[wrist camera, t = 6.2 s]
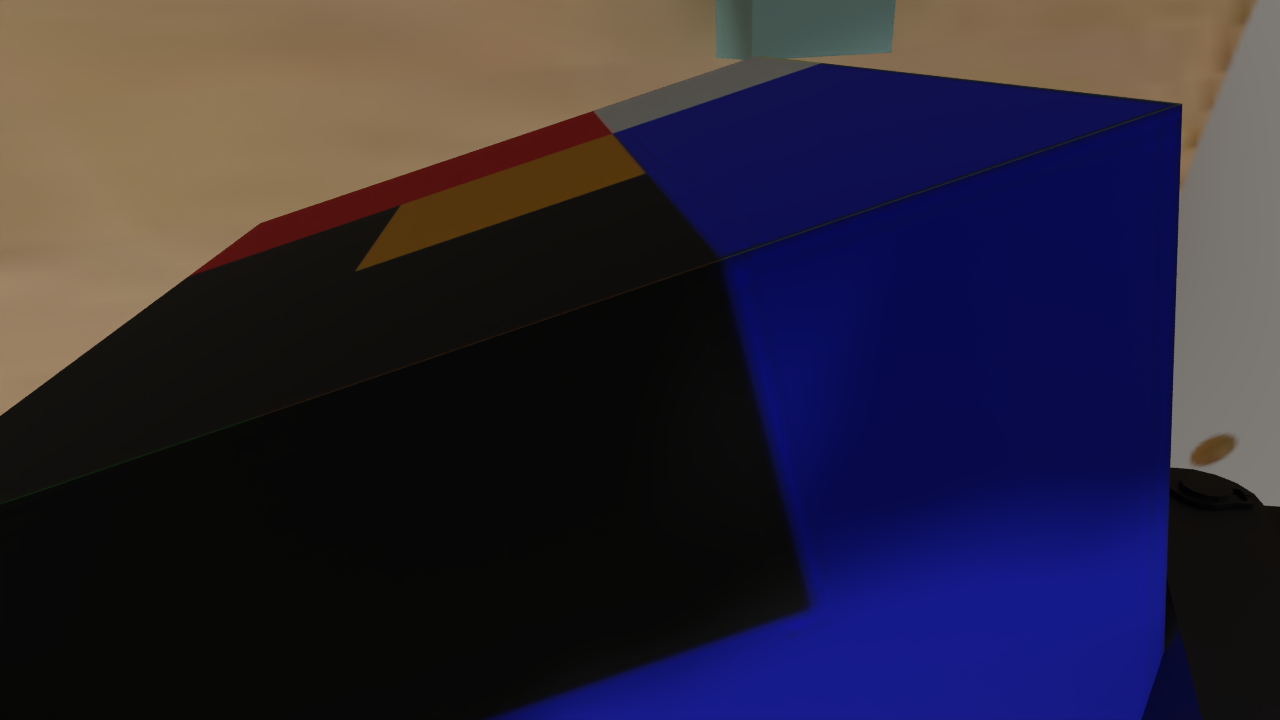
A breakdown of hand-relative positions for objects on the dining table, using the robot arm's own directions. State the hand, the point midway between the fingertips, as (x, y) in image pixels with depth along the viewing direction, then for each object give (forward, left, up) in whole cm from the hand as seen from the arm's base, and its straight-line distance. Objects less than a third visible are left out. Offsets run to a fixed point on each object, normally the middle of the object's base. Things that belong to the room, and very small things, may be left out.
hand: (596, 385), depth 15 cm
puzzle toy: (0, 0, -1) cm, 1 cm away
